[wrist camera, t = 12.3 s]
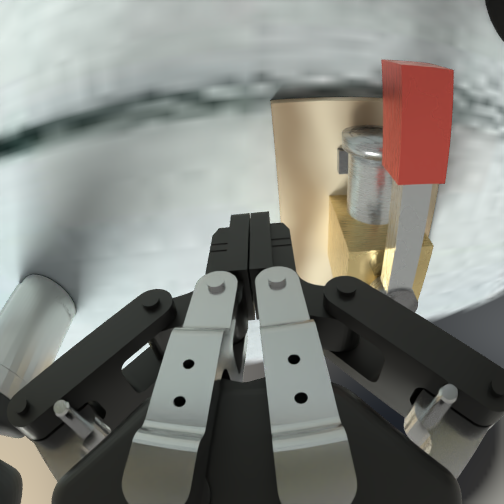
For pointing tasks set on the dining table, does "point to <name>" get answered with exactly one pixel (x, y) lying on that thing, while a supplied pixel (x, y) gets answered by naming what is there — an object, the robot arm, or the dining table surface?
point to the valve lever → (412, 164)
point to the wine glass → (496, 15)
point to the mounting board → (317, 171)
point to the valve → (364, 210)
